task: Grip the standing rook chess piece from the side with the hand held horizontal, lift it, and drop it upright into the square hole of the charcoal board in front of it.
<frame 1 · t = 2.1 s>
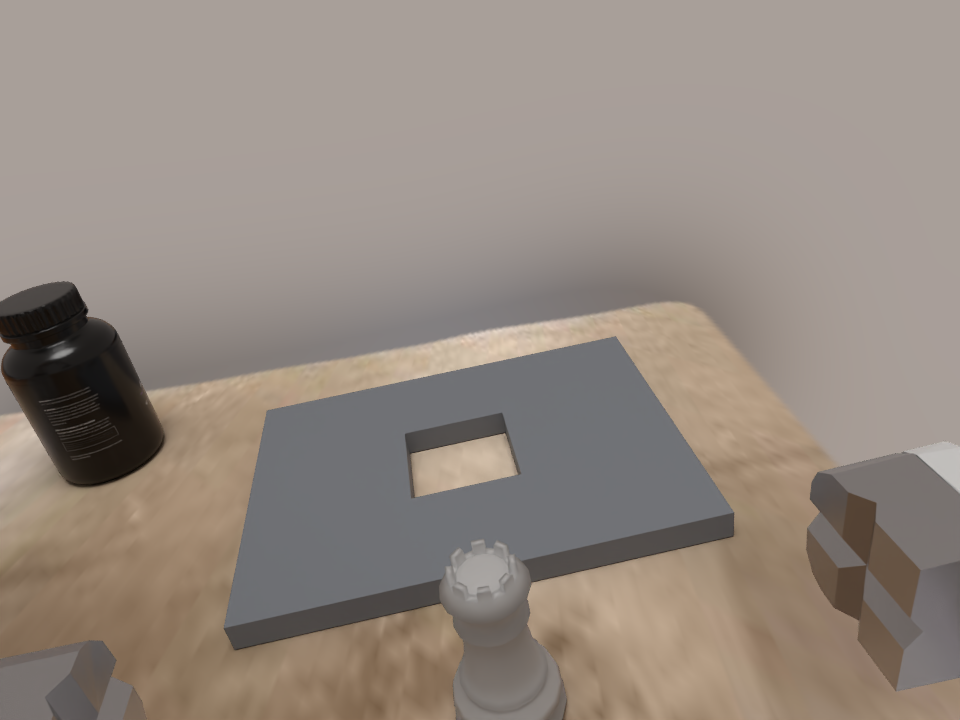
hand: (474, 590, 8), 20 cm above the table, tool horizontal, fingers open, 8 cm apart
supplement bottle: (116, 457, 49), on the table
rook chess piece: (512, 710, 29), on the table
socket board: (464, 473, 42), on the table
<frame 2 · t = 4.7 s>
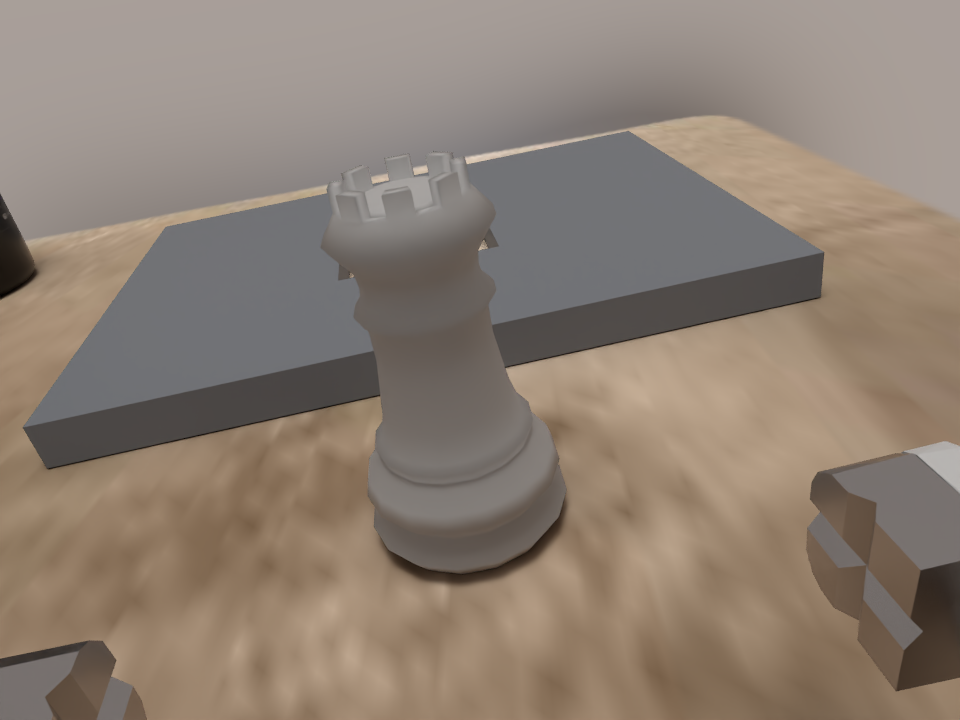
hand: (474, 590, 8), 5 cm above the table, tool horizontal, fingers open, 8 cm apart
rook chess piece: (473, 517, 17), on the table
socket board: (420, 270, 30), on the table
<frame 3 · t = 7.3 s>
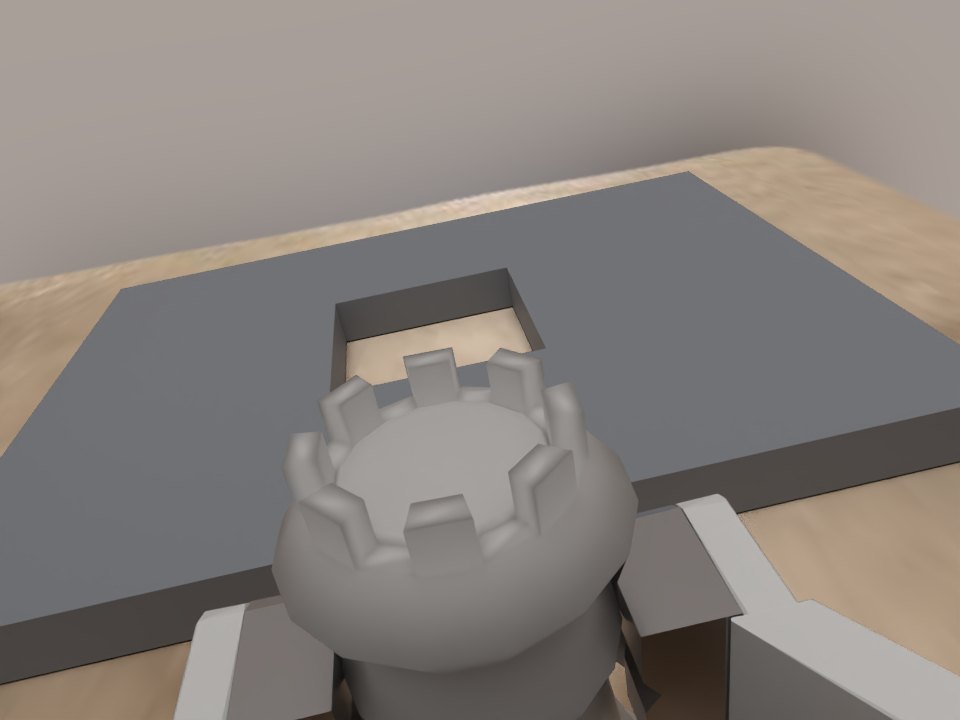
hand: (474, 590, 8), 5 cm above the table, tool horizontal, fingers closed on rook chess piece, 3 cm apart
socket board: (438, 364, 23), on the table
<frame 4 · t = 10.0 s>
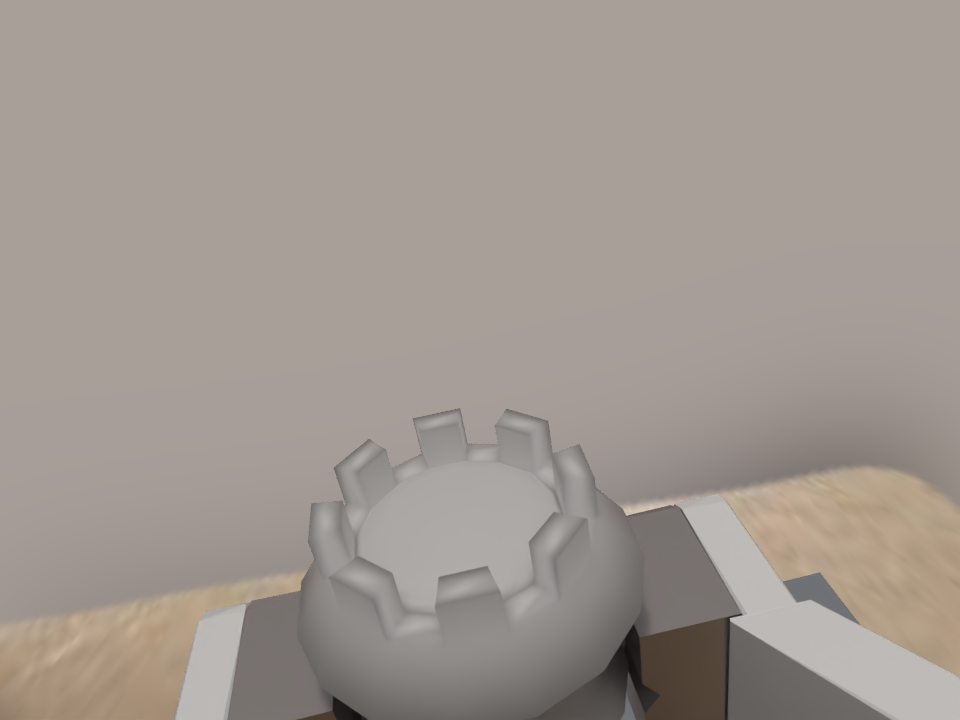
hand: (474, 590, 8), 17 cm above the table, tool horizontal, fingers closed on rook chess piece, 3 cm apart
when the fingers open (6 cm above the table, at t = 13.1 s): rook chess piece moves 1 cm, resting in socket board.
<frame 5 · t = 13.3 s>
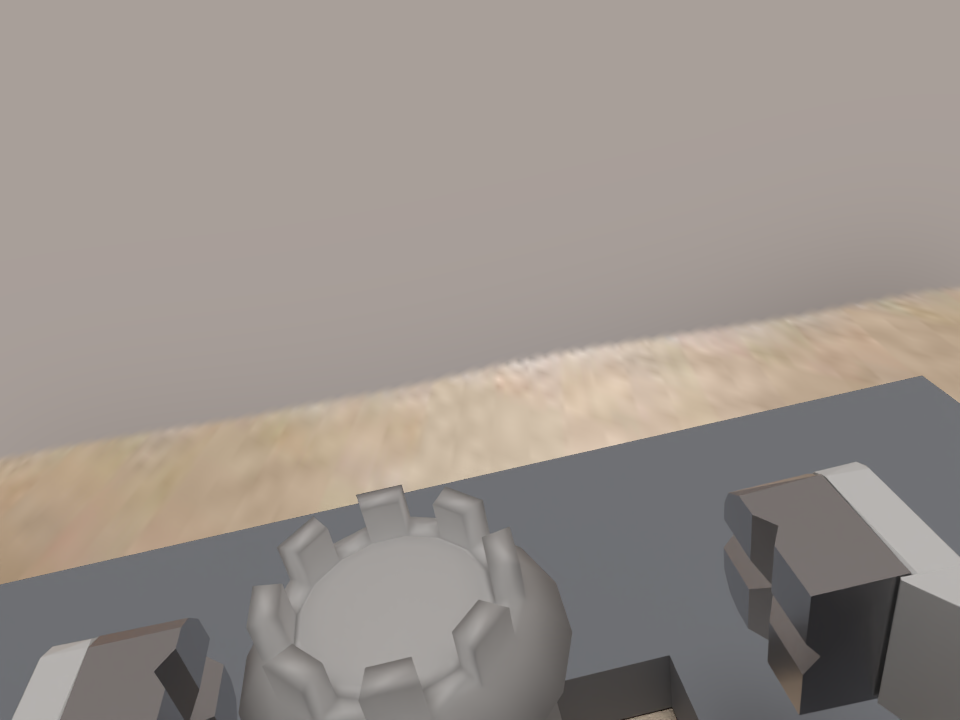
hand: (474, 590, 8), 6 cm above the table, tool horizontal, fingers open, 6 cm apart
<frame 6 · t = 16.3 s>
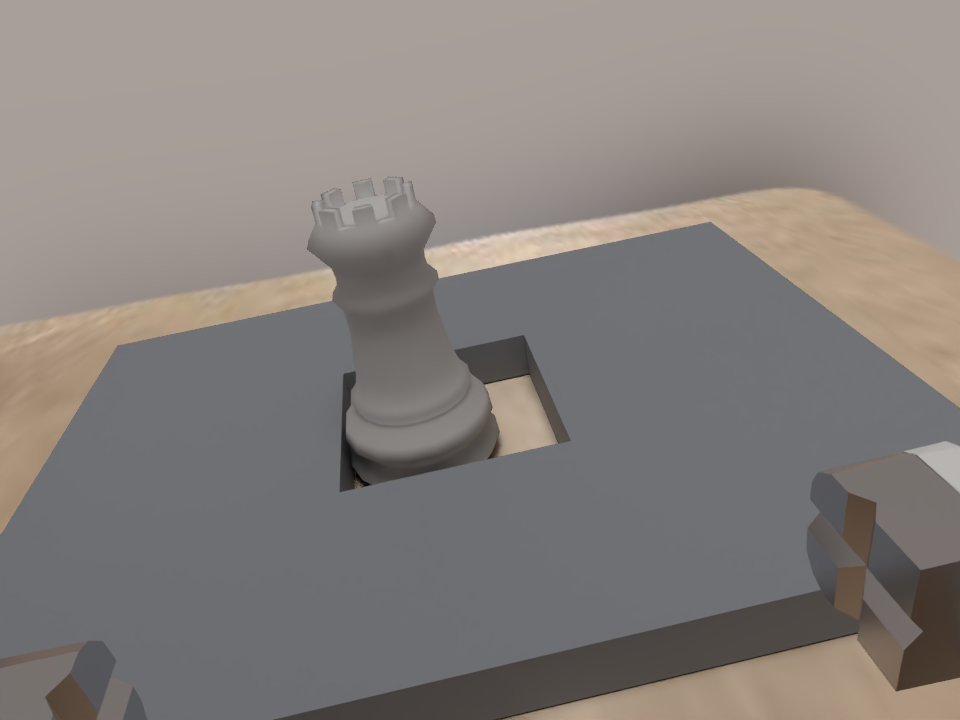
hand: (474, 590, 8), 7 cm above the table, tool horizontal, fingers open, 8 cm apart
rook chess piece: (429, 458, 22), resting in socket board
socket board: (452, 444, 22), on the table
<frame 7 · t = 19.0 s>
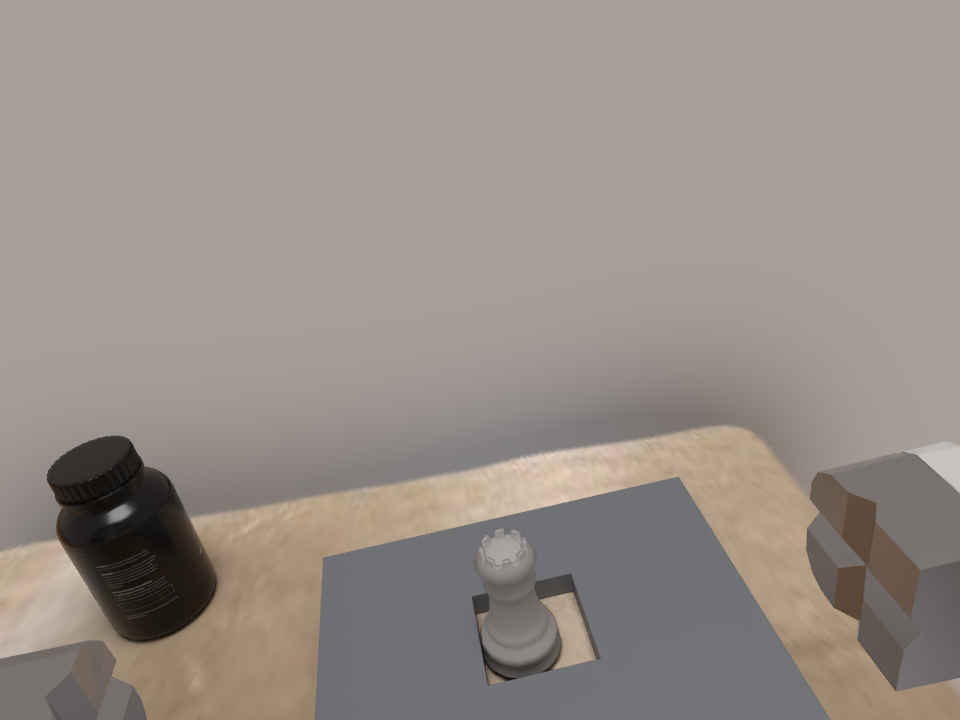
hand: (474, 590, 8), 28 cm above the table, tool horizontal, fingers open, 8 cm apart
supplement bottle: (167, 602, 48), on the table
rook chess piece: (522, 650, 41), resting in socket board
socket board: (535, 643, 41), on the table
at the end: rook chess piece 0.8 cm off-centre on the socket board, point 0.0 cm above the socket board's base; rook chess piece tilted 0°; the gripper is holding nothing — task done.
